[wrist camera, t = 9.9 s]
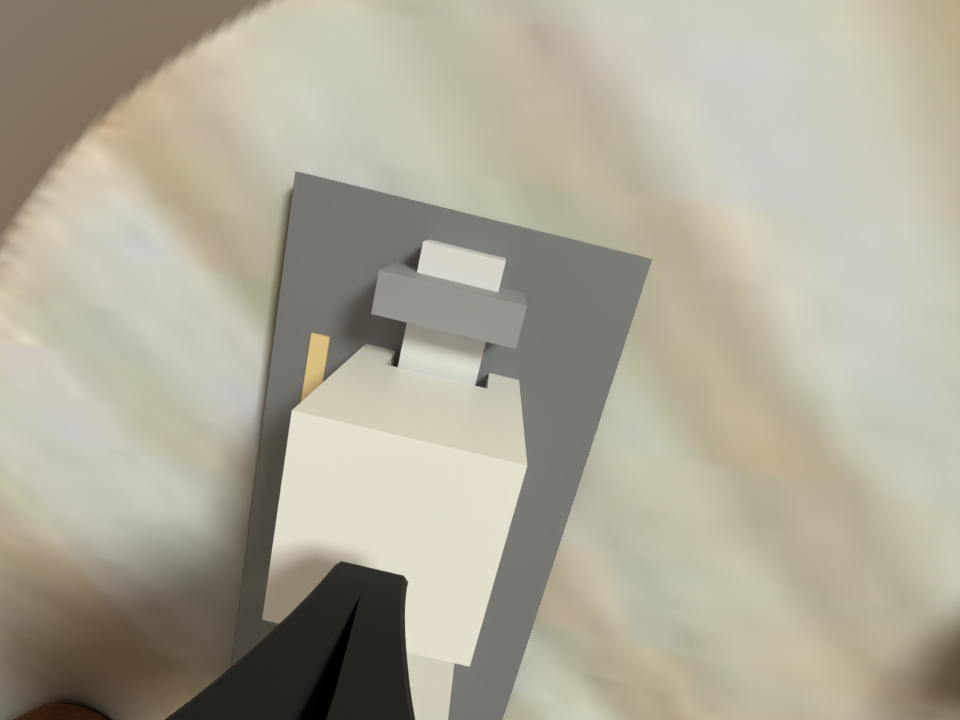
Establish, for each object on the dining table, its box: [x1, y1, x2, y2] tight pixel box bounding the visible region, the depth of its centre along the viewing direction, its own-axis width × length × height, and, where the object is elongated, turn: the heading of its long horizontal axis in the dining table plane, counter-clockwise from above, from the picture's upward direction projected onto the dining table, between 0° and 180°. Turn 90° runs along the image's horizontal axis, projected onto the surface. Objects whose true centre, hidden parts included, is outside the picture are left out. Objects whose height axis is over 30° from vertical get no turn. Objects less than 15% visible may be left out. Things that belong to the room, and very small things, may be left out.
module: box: [262, 344, 527, 667], centre depth 14 cm, size 6×5×6 cm
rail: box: [231, 171, 652, 720], centre depth 16 cm, size 22×11×7 cm, turn 167°
